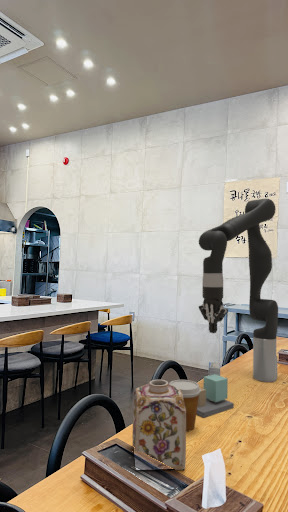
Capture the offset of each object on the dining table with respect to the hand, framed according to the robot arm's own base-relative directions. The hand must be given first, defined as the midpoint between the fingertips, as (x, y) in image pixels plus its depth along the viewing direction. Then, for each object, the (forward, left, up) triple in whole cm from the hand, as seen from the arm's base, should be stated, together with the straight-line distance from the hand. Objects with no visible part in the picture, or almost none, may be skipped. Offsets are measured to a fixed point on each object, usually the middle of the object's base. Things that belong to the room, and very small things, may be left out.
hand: (212, 332), depth 126 cm
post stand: (+10, +8, -22) cm, 26 cm away
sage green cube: (+7, +8, -20) cm, 22 cm away
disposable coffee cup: (+26, +14, -23) cm, 37 cm away
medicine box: (-6, -4, -23) cm, 24 cm away
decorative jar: (+42, +22, -23) cm, 53 cm away
